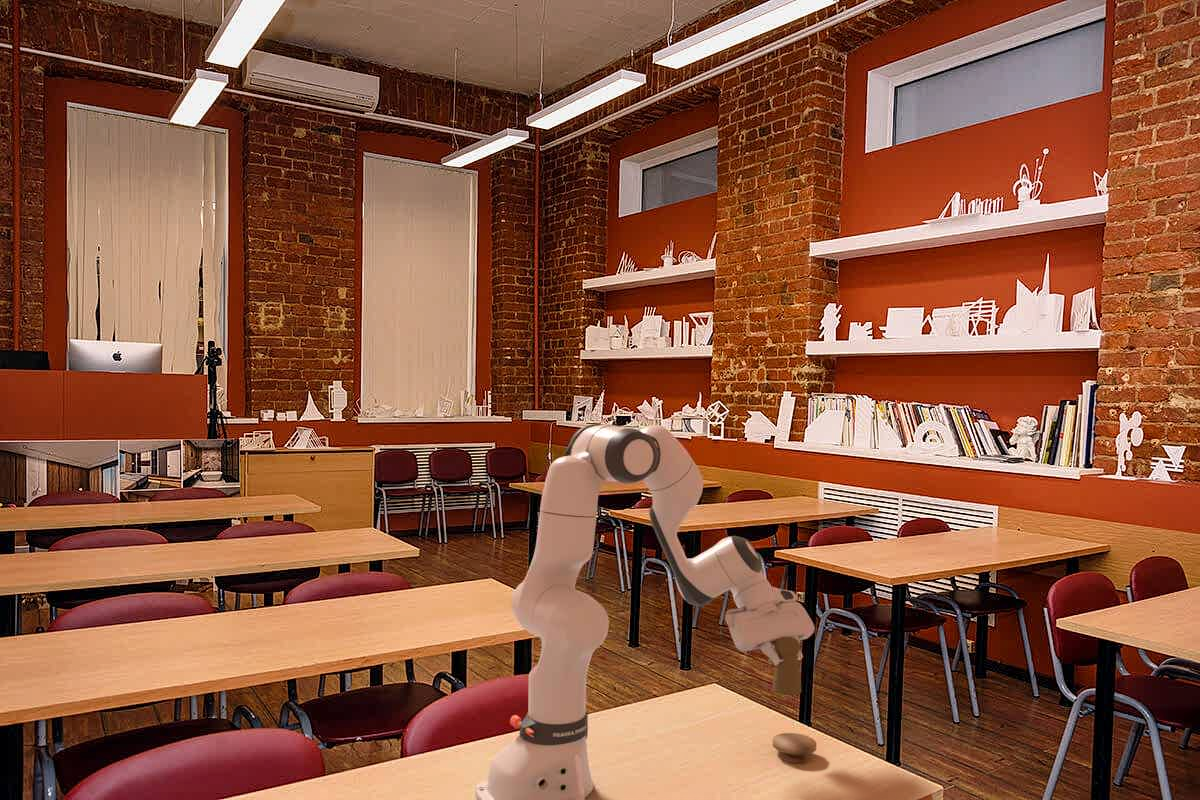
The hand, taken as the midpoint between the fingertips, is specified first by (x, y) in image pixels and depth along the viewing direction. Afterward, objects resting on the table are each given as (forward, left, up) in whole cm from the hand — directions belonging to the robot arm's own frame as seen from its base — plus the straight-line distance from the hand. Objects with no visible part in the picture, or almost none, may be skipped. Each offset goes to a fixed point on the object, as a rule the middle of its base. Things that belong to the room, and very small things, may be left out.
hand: (789, 661), depth 181 cm
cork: (0, +1, -6) cm, 7 cm away
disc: (+1, -1, -20) cm, 20 cm away
